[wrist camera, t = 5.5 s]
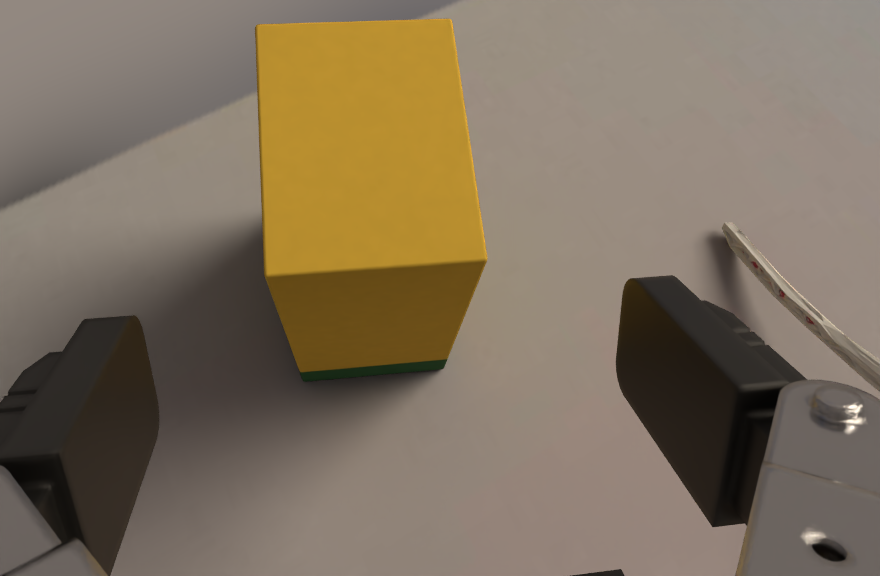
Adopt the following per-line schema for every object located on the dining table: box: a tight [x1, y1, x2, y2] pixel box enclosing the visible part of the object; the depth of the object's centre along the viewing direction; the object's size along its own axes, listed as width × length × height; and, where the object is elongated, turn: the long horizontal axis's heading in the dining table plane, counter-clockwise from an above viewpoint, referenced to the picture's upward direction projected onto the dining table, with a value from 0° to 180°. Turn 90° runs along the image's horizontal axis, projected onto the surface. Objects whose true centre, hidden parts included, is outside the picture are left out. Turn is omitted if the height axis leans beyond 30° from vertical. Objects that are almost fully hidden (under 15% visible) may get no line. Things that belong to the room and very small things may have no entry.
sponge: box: [255, 19, 487, 382], centre depth 19 cm, size 4×6×9 cm
